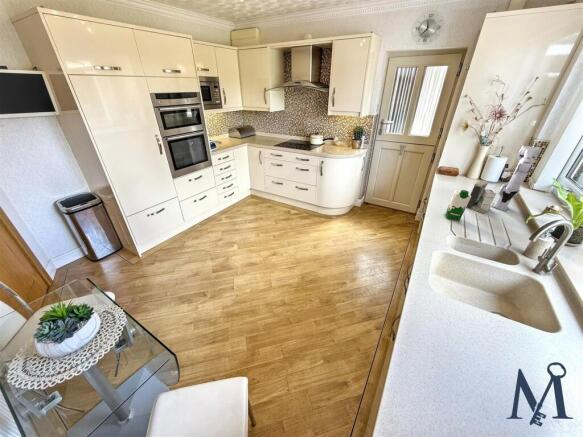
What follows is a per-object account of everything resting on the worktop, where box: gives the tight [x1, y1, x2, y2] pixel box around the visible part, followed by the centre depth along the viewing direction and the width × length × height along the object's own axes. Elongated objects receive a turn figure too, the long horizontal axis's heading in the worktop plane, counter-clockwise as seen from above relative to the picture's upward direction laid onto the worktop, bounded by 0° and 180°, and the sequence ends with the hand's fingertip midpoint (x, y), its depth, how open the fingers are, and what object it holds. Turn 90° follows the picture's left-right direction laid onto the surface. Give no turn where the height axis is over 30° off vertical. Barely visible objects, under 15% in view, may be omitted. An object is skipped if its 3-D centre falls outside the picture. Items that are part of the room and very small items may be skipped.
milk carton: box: [445, 189, 471, 222], centre depth 150 cm, size 9×9×20 cm
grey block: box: [466, 179, 492, 214], centre depth 165 cm, size 14×12×18 cm
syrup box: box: [476, 188, 497, 212], centre depth 164 cm, size 6×6×14 cm
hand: (505, 201), depth 155 cm, fingers open, 7 cm apart
